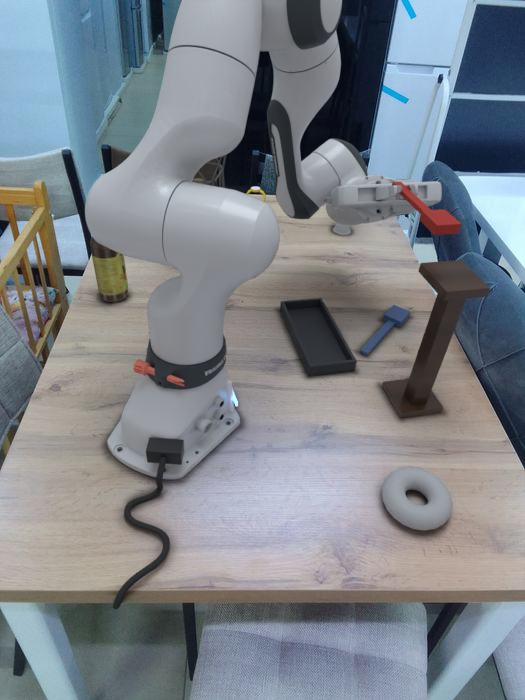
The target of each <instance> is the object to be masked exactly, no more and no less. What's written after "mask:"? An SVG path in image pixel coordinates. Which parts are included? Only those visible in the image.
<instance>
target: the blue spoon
mask: <svg viewBox="0 0 525 700" xmlns="http://www.w3.org/2000/svg"><path fill="white" fill-rule="evenodd" d="M410 316H411V311H410V310H408V309H407V308H404V307H401V306H398V305H396V304H393V305H392V306H391V307H390V308H389V309H388V310H387V311H386V312H385V313H384V315H383V318H382V321H383V322H385V323H383V325H382V326H381V327H380V328H379V329H378V330H377V332H376V333H374V334H373V336H372V337H371V338H370V339H369V340H368V341H367V342H366V343H365V344H364V346H363V347H361V348H360V350H359V354H361V355H364V356H365V357H367V356H369V355H370V353H371V352H372V351H373V350H374V349H375V348H376V347H377V346H378V344H379V343H380V342H381V341H383V339H384V338H385V337H386V335H388V333H389V332H390V331H391V330H393V328H394V327H397V328H401V327H402V326H403V325H404V324H405V322H406V321H407V320H408V319H409V318H410Z"/></svg>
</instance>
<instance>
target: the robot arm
mask: <svg viewBox="0 0 525 700" xmlns="http://www.w3.org/2000/svg"><path fill="white" fill-rule="evenodd" d="M342 8H343V0H181V1H180V4H179V8H178V10H177V14H176V17H175V20H174V24H173V28H172V32H171V36H170V39H169V44H168V50H167V55H166V60H165V66H164V71H163V75H162V81H161V85H160V89H159V94H158V98H157V101H156V106H155V110H154V113H153V116H152V119H151V122H150V123H149V125H148V128H147V131H146V132H145V134H144V136H143V137H142V139H141V140H140V141H139V143H138V144H137V146H136V147H135V148H134V150H133V151H132V152H131V153H130V154H129V155H128V156H127V157H126V159H124V160H123V161H122V162H121V163H119V164H118V165H117V166H116V167H114V168H113V169H111V170H110V171H108V172H106V173H104V174H102V175H100V176H98V178H97V179H96V180H95V181H94V182H93V184H92V185H91V187H90V189H89V191H88V193H87V195H86V199H85V204H84V217H85V223H86V226H87V229H88V231H89V233H90V235H91V237H93V238H94V240H95V241H96V242H98V243H99V244H101V245H103V246H105V247H107V248H109V249H111V250H114V251H116V252H118V253H120V254H123V255H124V257H128V258H131V259H137V260H141V261H144V262H148V263H149V262H150V263H155V264H159V265H164V266H167V267H171V268H174V269H175V270H177V271H178V273H179V275H177V276H174V277H171V278H169V279H167V280H165V281H163V282H161V283H160V284H158V285H157V286H156V287H155V288H154V289H153V291H152V292H151V293H150V296H149V298H148V301H147V304H146V312H147V313H146V315H147V322H148V331H149V332H148V333H149V339H148V342H147V343H148V344H147V347H146V352H145V353H146V355H145V361H144V360H142V359H141V358H139V359H137V360H135V362H134V364H133V369H132V371H133V372H134V373H136V374H141V375H140V376H139V378H138V380H137V382H136V384H135V386H134V388H133V390H132V392H131V394H130V396H129V398H128V399H127V401H126V403H125V405H124V408H123V410H122V413H121V417H120V419H119V421H118V423H116V426H115V427H114V429H113V430H112V432H111V434H110V435H109V437H108V438H107V443H106V444H107V448H108V450H109V452H110V454H112V456H113V457H115V459H116V460H118V461H119V462H120V463H122V464H123V465H125V466H127V467H128V468H130V469H131V470H134V471H136V472H139V473H141V474H143V475H146V476H149V477H152V478H154V479H155V483H156V488H155V490H153V491H152V492H150V493H148V494H146V495H142V496H139V497H136V498H133V499H132V500H130V501H128V502H127V503H126V505H125V506H124V509H123V516H124V519H125V521H126V522H127V523H128V524H130V525H131V526H133V527H135V528H138V529H141V530H143V531H145V532H146V531H147V532H150V533H152V534H154V535H157V536H158V537H159V538H160V539H161V541H162V544H163V545H162V549H161V552H160V554H159V555H158V556H157V557H156V558H155V559H154V560H153V561H152V562H150V563H149V564H147V565H145V566H144V567H143V568H141V569H140V570H138V571H137V572H136V573H134V574H133V575H132V576H131V577H129V579H127V580H126V581H125V582H124V584H122V586H121V587H120V588H119V590H118V592H117V594H116V595H115V597H114V600H113V604H112V609H113V610H118V609H119V608H120V607H121V605H122V602H123V600H124V598H125V596H126V594H127V593H128V591H129V590H130V589H131V588H132V587H133V586H134V585H135V584H136V583H137V582H139V581H140V580H141V579H143V578H144V577H146V576H147V575H148V574H150V573H151V572H153V571H154V570H156V569H157V568H158V567H159V566H161V564H162V563H164V561H165V560H166V558H167V557H168V554H169V552H170V548H171V541H170V537H169V536H168V534H167V532H166V531H164V530H163V529H162V528H159V527H157V526H155V525H152V524H149V523H146V522H143V521H141V520H138V519H136V518H135V517H134V516H132V513H131V511H132V508H134V507H135V506H137V505H139V504H143V503H146V502H149V501H152V500H153V499H155V498H157V497H158V496H159V495H160V494H161V493H162V491H163V490H164V483H163V480H181V479H182V478H184V477H185V476H186V475H188V473H189V472H190V471H191V470H193V469H194V468H195V467H196V466H197V465H199V463H200V462H201V461H203V459H204V458H206V457H207V456H208V454H210V453H211V452H212V451H213V450H214V449H215V448H217V446H219V445H220V444H221V443H222V442H223V441H224V440H225V439H226V438H227V437H229V435H231V433H233V432H234V431H235V430H236V429H237V428H239V426H240V424H241V417H240V415H239V413H238V412H237V410H236V409H235V407H239V401H238V399H237V397H236V393H235V391H234V389H233V383H232V380H231V378H230V375H229V372H228V370H227V367H226V362H227V354H228V345H227V341H226V337H225V334H224V330H225V329H224V328H225V316H226V308H227V304H228V301H229V299H230V297H231V296H232V294H233V293H234V292H235V290H237V289H238V288H239V287H240V286H241V285H243V284H244V283H247V282H248V281H251V280H253V279H256V278H258V277H260V275H262V274H263V273H264V272H265V271H266V270H267V269H269V267H270V266H271V264H272V263H273V262H274V260H275V258H276V256H277V253H278V250H279V247H280V241H281V240H280V239H281V230H280V225H279V221H278V218H277V215H276V213H275V211H274V209H273V207H272V206H271V204H270V203H268V202H267V201H266V202H264V200H261V199H259V198H256V197H254V196H253V195H250V194H248V195H247V194H246V193H244V192H242V191H239V190H236V189H233V188H227V187H225V188H223V187H222V186H221V187H219V186H216V185H214V186H212V184H208V185H205V184H200V183H195V182H192V181H193V179H195V176H196V175H197V173H198V170H200V169H201V168H202V167H203V166H205V165H207V164H206V163H207V162H211V161H212V160H214V159H215V160H216V158H218V159H219V158H220V157H221V156H224V155H226V154H227V155H228V154H230V153H231V152H232V151H234V150H235V149H236V148H237V147H238V145H240V143H241V141H242V140H243V137H244V136H245V131H246V126H247V121H248V116H249V113H250V108H251V102H252V98H253V92H254V88H255V82H256V77H257V72H258V67H259V60H260V53H261V52H268V53H269V56H270V61H271V65H272V70H273V71H272V72H273V84H272V93H271V98H270V101H269V104H268V107H267V110H266V120H267V129H268V131H267V132H268V136H269V143H270V151H271V157H272V163H273V170H274V196H275V199H276V201H277V203H278V205H279V207H280V208H281V210H282V211H283V213H284V214H285V215H286V216H287V217H289V218H291V219H294V220H310V219H311V218H312V217H313V216H314V215H315V214H316V213H317V212H318V211H319V210H320V208H321V207H323V206H325V211H326V214H327V216H328V217H329V219H330V220H332V221H333V222H335V224H336V223H339V224H341V225H347V226H359V225H362V224H363V225H365V224H370V223H377V222H381V221H385V220H388V219H390V218H392V217H393V218H394V217H398V216H406V215H412V214H414V213H415V211H417V210H416V209H415V208H414V207H413V206H412V205H411V204H410V203H409V202H408V201H407V200H405V199H404V198H403V197H402V196H401V195H402V191H401V190H402V186H401V185H393V186H392V182H402V183H403V184H404V185H405V186H406V187H407V188H408V189H409V190H410V191H412V192H413V193H414V194H415V195H416V196H417V197H418V198H419V199H420V200H421V201H422V202H423V203H425V204H426V205H427V206H428V207H431V206H434V205H437V204H439V203H440V202H441V200H442V196H443V194H442V192H443V188H442V187H443V186H442V183H441V182H440V181H436V180H434V181H433V180H431V181H415V180H414V179H406V178H405V179H401V178H393V177H388V176H383V175H380V174H368V166H367V164H366V162H365V160H364V158H363V156H362V154H361V153H360V151H359V150H358V148H356V146H354V145H353V144H352V143H350V142H348V141H346V140H343V139H340V138H334V137H333V138H329V139H327V140H325V142H324V143H322V144H321V145H319V146H318V147H317V148H316V149H315V150H313V151H312V152H311V153H310V154H309V155H308V156H306V157H305V158H303V160H302V157H301V141H302V139H303V136H304V133H305V132H306V130H307V128H308V126H309V125H310V123H311V122H312V120H313V119H314V118H315V116H316V115H317V114H318V112H319V111H320V110H321V109H322V108H323V107H324V106H325V104H326V103H327V102H328V100H329V99H330V98H331V97H332V94H333V93H334V92H335V90H336V89H337V86H338V83H339V80H340V76H341V67H342V59H341V51H340V44H339V39H338V34H337V33H338V32H337V29H338V26H339V23H340V19H341V15H342ZM366 166H367V167H366Z"/></svg>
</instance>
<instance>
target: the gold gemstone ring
mask: <svg viewBox="0 0 525 700" xmlns="http://www.w3.org/2000/svg"><path fill="white" fill-rule="evenodd" d="M251 192H252V193H260V194H261V195H262V196H263V202H266V203H267V195H266V193H265V192H264V190H262V189H261V187H260V186H256V185H255V186H251V187H250V189H248V190H247V192H246V193H245V194H247V195H250V193H251Z"/></svg>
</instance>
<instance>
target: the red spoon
mask: <svg viewBox="0 0 525 700" xmlns="http://www.w3.org/2000/svg"><path fill="white" fill-rule="evenodd" d="M393 185H401V186H402V190H401V191H402V195H401V196H402V197H403V198H404V199H405V200H407V201H408V202H409V203H410V204H411V205H412V206H413V207H414V208H415V209H416V210H415V211H417V212H418V214H420V215H419V219H418V220H419V222H420V223H422V224H423V225H424V227H426V228H427V229H428V230H429V232H431V233H432V234H433V235H434V236H440V235H441V236H442V235H443V236H444V235H454V234H455V235H456V234H459V232H460V229H461V226H462V223H461V222H460V221H459V220H458V219H457V218H456V217H454V216H453V215H452V214H451V213H450V212H449V211H447V209H431V208H430V206H427V205H426V204H425V203H423V202H422V201H421V200H420V199H419V198H418V197H417V196H416V195H415V194H414V193H413V192H412V191H410V190H409V189H408V188H407V187H406V186H405V185H404V184H403V183H402V182H392V186H393Z"/></svg>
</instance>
